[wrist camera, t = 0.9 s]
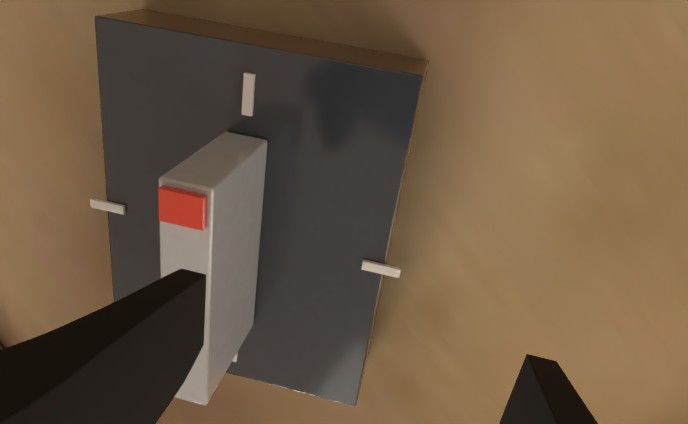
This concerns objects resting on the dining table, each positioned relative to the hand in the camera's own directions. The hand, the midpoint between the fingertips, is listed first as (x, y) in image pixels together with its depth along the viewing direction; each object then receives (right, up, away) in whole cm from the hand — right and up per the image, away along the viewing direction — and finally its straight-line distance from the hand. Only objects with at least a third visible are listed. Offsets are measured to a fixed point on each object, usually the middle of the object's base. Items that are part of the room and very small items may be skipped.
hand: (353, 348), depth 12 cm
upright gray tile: (-4, +2, +8) cm, 9 cm away
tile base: (-4, +3, +11) cm, 12 cm away
